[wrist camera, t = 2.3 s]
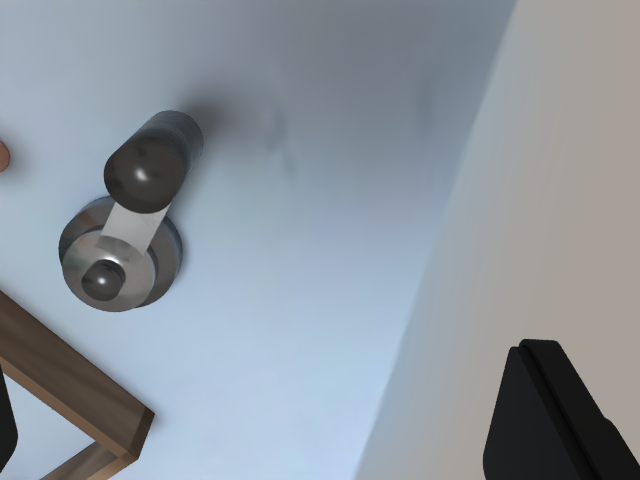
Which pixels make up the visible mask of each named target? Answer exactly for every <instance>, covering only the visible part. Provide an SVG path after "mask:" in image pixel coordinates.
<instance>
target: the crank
mask: <svg viewBox="0 0 640 480" xmlns="http://www.w3.org/2000/svg"><path fill="white" fill-rule="evenodd" d="M202 150H203V135H202V132H201V130H200V128H199V126H198V125H197V124H196V122H195V121H194V120H193V119H192V118H190V117H189V116H187V115H186V114H184V113H181V112H178V111H171V110H169V111H162V112H159V113H157V114H156V115H154V116H153V117H152V118H151V119H150V120H148V121H147V122H146V123H145V124H144V125H143V126H142V127H141V128H140V129H139V130H138V131H137V132H136V133H135V134H134V135H133V136H131V137H130V138H129V139H128V140H127V141H126V142H125V143H124V144H123V145H122V146H121V147H120V148H119V149H118V150H117V151H115V152H114V153H113V154H112V155H111V156H110V158H109V159H108V161H107V163H106V165H105V168H104V182H105V185H106V188H107V190H108V192H109V194H110V195H111V197H112V198H113V199H114V200H115V201H116V202H115V205H114V207H113V209H112V211H111V213H110V215H109V218H108V220H107V222H106V224H105V225H98V226H95V227H92V228H90V229H88V230H86V231H85V232H83V233H82V234H81V235H80V236H79V237H78V238H77V239H76V241H75V242H74V243H73V244H72V245H71V246H70V248H69V249H68V250H67V252H66V254H65V256H64V259H63V263H62V270H63V276H64V279H65V281H66V284H67V285H68V287H69V289H70V290H71V291H72V292H73V294H74V295H75V296H76V297H77V298H79V299H80V300H81V301H82V302H84V303H86V304H87V305H89V306H91V307H93V308H96V309H99V310H102V311H108V312H122V311H127V310H131V309H133V308H135V307H137V306H139V305H140V304H141V303H142V302H144V300H145V299H146V298H147V297H148V295H149V293H150V291H151V289H152V287H153V286H154V284H155V282H156V279H157V277H158V271H159V264H158V259H157V256H156V254H155V252H154V250H153V248H152V247H151V245H150V244H151V242H152V240H153V238H154V236H155V234H156V232H157V230H158V228H159V226H160V224H161V223H162V221H163V219H164V217H165V215H166V213H167V211H168V209H169V207H170V205H171V203H172V201H173V199H174V197H175V195H176V194H177V192H178V190H179V189H180V187H181V186H182V184H183V182H184V181H185V179H186V178H187V176H188V174H189V173H190V171H191V169H192V168H193V166H194V165H195V163H196V161H197V160H198V158H199V157H200V155H201V153H202Z"/></svg>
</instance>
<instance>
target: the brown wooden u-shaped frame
mask: <svg viewBox="0 0 640 480" xmlns="http://www.w3.org/2000/svg"><path fill="white" fill-rule="evenodd" d="M0 364H1V368H2V372H3V373H4V374H6V375H7V376H8V377H10V378H11V379H13V380H14V381H15V382H17V383H18V384H19V385H21V386H22V387H23V388H25V389H26V390H27V391H29V392H30V393H32V394H33V395H34V396H36V397H37V398H38V399H40V400H41V401H42V402H44V403H45V404H46V405H48V406H49V407H51V408H52V409H53V410H55V411H56V412H57V413H59V414H60V415H61V416H63V417H64V418H65V419H67V420H68V421H70V422H71V423H72V424H74V425H75V426H76V427H78V428H79V429H80V430H82V431H83V432H84V433H86V434H87V435H89V436H90V437H91V438H93V439H94V440H95V442H94V443H93V444H91V445H90V446H88V447H87V448H85V449H84V450H82V451H81V452H80V453H78V454H77V455H75V456H74V457H72V458H71V459H70V460H68V461H67V462H65V463H64V464H62V465H61V466H59V467H58V468H57V469H55V470H54V471H52V472H51V473H49V474H48V475H46V476H45V477H44V478H42V479H41V480H107V479H109V478H110V477H112V476H113V475H115V474H116V473H118V472H119V471H121V470H122V469H124V468H126V467H127V466H129V465H130V464H132V463H133V462H135V461H136V460H138V458H139V456H140V453H141V450H142V448H143V445H144V442H145V439H146V437H147V434H148V431H149V429H150V426H151V423H152V420H153V418H154V415H155V414H154V413H153V412H152V411H150V410H149V409H148V408H147V407H145V406H144V405H143V404H142V403H140V402H139V401H138V400H137V399H135V398H134V397H133V396H132V395H130V394H129V393H128V392H127V391H125V390H124V389H123V388H122V387H120V386H119V385H118V384H117V383H115V382H114V381H113V380H111V379H110V378H109V377H108V376H106V375H105V374H104V373H103V372H101V371H100V370H99V369H98V368H96V367H95V366H94V365H93V364H91V363H90V362H89V361H88V360H86V359H85V358H84V357H83V356H81V355H80V354H79V353H78V352H76V351H75V350H74V349H73V348H71V347H70V346H69V345H68V344H66V343H65V342H64V341H62V340H61V339H60V338H59V337H57V336H56V335H55V334H54V333H52V332H51V331H50V330H49V329H47V328H46V327H45V326H44V325H42V324H41V323H40V322H39V321H37V320H36V319H35V318H34V317H32V316H31V315H30V314H29V313H27V312H26V311H25V310H24V309H22V308H21V307H20V306H18V305H17V304H16V303H15V302H13V301H12V300H11V299H10V298H8V297H7V296H6V295H5V294H3V293H2V292H1V291H0Z"/></svg>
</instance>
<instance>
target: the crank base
mask: <svg viewBox="0 0 640 480" xmlns="http://www.w3.org/2000/svg"><path fill="white" fill-rule="evenodd" d="M115 202H116V201H115V200H114V199H113V198H112V197H111V196H107V197H103V198H99V199H97V200H94V201H92V202H91V203H89V204H87V205H86V206H85V207H83V209H82V210H81V211H80V212H79V213H78V214H77V215H76V216H75V217H74V218H73V219H72V220H71V221H70V222H69V223H68V224H67V226H66V227H65V229H64V230H63V232H62V234H61V237H60V241H59V258H60V262H61V265H62V263H63V259H64V256H65V254H66V252H67V250H68V249H69V248H70V246H71V245H72V244H73V243H74V242H75V241H76V239H77V238H78V237H79V236H80V235H81V234H82V233H83V232H85V231H86V230H88V229H90V228H92V227H95V226H98V225H105V224H106V222H107V220H108V218H109V215H110V213H111V211H112V209H113V207H114V205H115ZM150 245H151V247H152V248H153V250H154V252H155V254H156V256H157V259H158V264H159V271H158V277H157V279H156V282H155V284H154V286H153V287H152V289H151V291H150V293H149V295H148V297H147V298H146V299H145V300H144V302H142V303H141V304H140V305H139V306H137V307H135V308H138V307H143V306H146V305H149V304H151V303H153V302H155V301H157V300H158V299H160V298H161V297H162V296H163V295H164V294H165V293H166V292H167V291H168V289H169V288H170V286H171V284H172V282H173V280H174V278H175V276H176V274H177V272H178V269H179V267H180V264H181V260H182V245H181V240H180V237H179V235H178V232H177V230H176V229H175V227H174V225H173V224H172V223H171V221H170V220H169V219H168V218H167V217H166V216H165V217H164V219H163V221H162V223H161V224H160V226H159V228H158V230H157V232H156V234H155V236H154V238H153V240H152V242H151V244H150Z"/></svg>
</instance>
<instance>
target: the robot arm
mask: <svg viewBox="0 0 640 480" xmlns="http://www.w3.org/2000/svg"><path fill="white" fill-rule="evenodd" d="M17 440H18V432H17V427H16V423H15V419H14V415H13V411H12V407H11V403H10V400H9V396H8V392H7V388H6V384H5V380H4V376H3V372H2V368H1V364H0V473H1V472H2V470H3V468H4V467H5V465H6V464H7V462H8V461H9V459H10V457H11V456H12V454H13V452H14V451H15V448H16V445H17ZM483 469H484V475H485V478H486V480H640V465H639V464H638V462H637V460H636V459H635V457H634V456H633V454H632V452H631V451H630V449H629V448H628V446H627V444H626V443H625V441H624V440H623V438H622V436H621V435H620V433H619V431H618V430H617V428H616V427H615V426H614V425H613V423H612V422H611V421H610V420H608V419H606V418H605V417H604V416H603V415H602V413H601V411H600V409H599V408H598V406H597V404H596V403H595V401H594V400H593V398H592V396H591V395H590V393H589V391H588V390H587V388H586V387H585V385H584V383H583V382H582V380H581V378H580V377H579V375H578V373H577V372H576V370H575V368H574V367H573V365H572V364H571V362H570V360H569V359H568V357H567V355H566V354H565V352H564V350H563V349H562V347H561V346H560V344H559V343H558V342H557V341H554V340H536V339H523V340H522V341H521V342H520V344H519V347H511V348H510V350H509V353H508V357H507V361H506V365H505V369H504V373H503V377H502V381H501V385H500V389H499V393H498V397H497V401H496V405H495V409H494V413H493V417H492V421H491V425H490V429H489V433H488V437H487V441H486V445H485V450H484V454H483Z"/></svg>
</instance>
